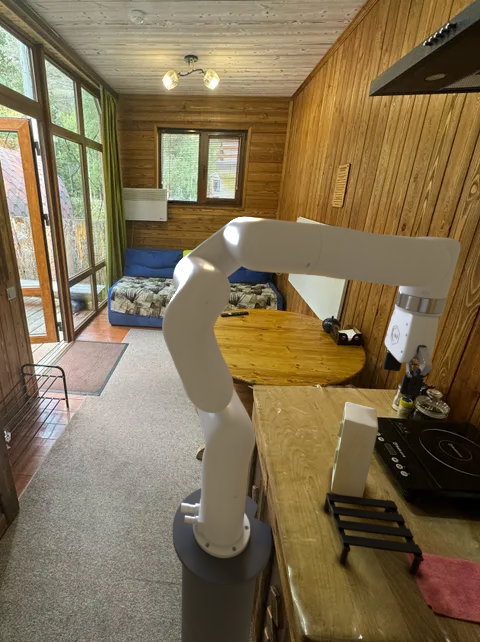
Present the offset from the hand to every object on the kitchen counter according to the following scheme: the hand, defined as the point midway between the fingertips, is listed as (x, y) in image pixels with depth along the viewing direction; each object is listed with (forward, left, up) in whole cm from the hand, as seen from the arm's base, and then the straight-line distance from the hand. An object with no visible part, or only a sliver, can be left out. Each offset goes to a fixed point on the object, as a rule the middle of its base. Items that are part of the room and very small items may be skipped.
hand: (399, 381), depth 64 cm
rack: (-5, -10, -31) cm, 33 cm away
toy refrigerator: (-5, +3, -32) cm, 32 cm away
